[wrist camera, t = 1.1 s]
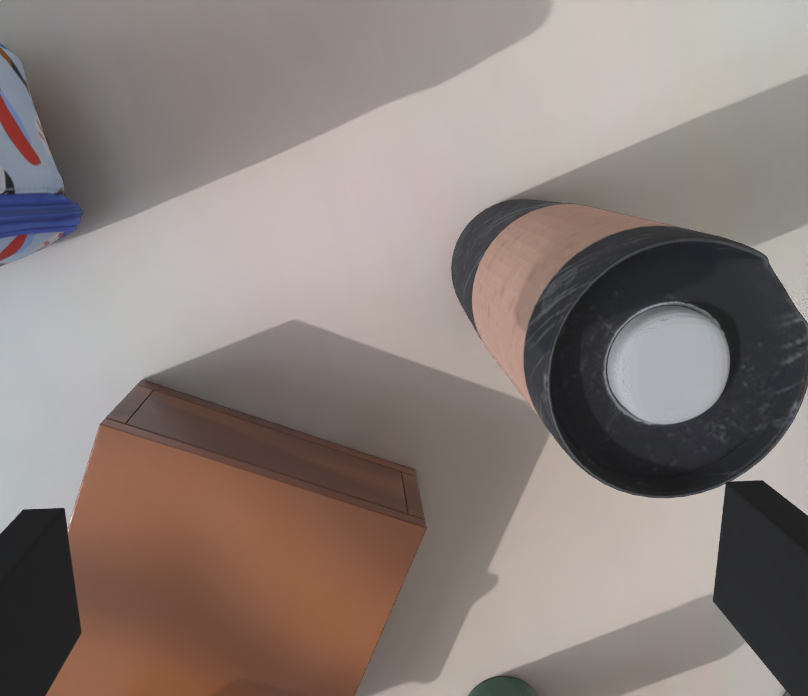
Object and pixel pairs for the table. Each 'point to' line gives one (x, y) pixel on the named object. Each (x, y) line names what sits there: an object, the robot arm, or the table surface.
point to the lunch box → (27, 172)
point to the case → (269, 447)
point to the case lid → (223, 576)
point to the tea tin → (503, 688)
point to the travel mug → (636, 341)
